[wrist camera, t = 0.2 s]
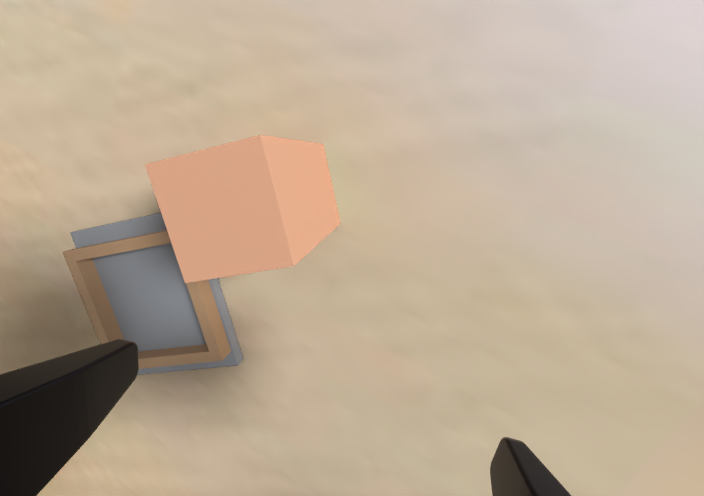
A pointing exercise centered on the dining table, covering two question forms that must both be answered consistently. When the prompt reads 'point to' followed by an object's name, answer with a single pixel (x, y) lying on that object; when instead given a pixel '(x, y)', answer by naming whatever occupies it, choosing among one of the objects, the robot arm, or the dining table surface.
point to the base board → (151, 298)
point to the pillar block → (245, 205)
